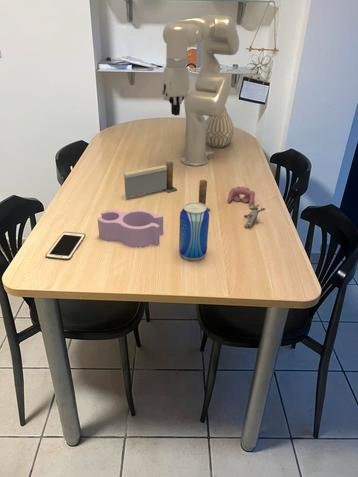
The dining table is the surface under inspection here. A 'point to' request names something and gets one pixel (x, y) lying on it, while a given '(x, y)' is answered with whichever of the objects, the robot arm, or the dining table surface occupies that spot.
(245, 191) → the video game controller
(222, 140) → the vase
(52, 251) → the cell phone
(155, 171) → the bar
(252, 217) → the grey animal figurine
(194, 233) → the beer can
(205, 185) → the wooden pegs
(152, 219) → the clip
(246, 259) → the dining table surface
